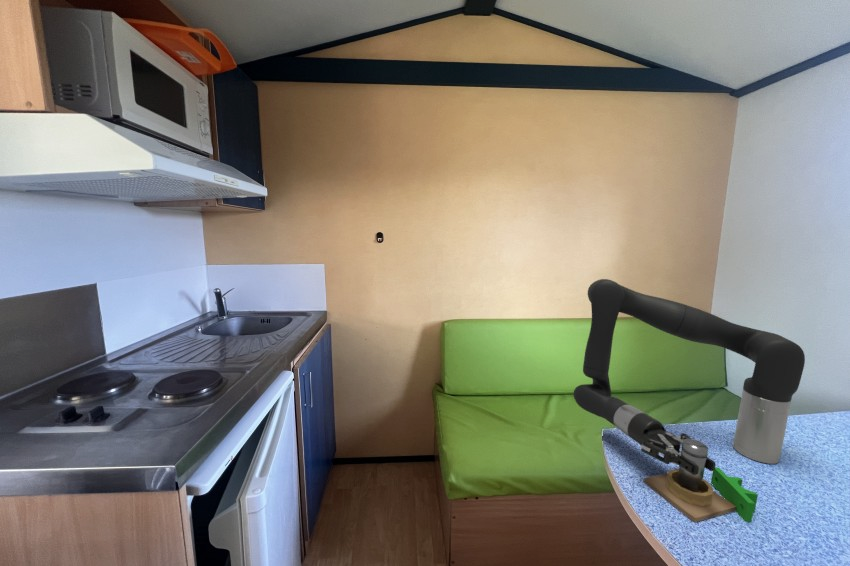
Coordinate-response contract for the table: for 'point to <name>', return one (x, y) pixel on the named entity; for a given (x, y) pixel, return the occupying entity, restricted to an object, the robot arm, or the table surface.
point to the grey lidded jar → (697, 455)
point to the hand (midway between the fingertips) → (705, 468)
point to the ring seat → (690, 497)
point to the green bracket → (735, 493)
